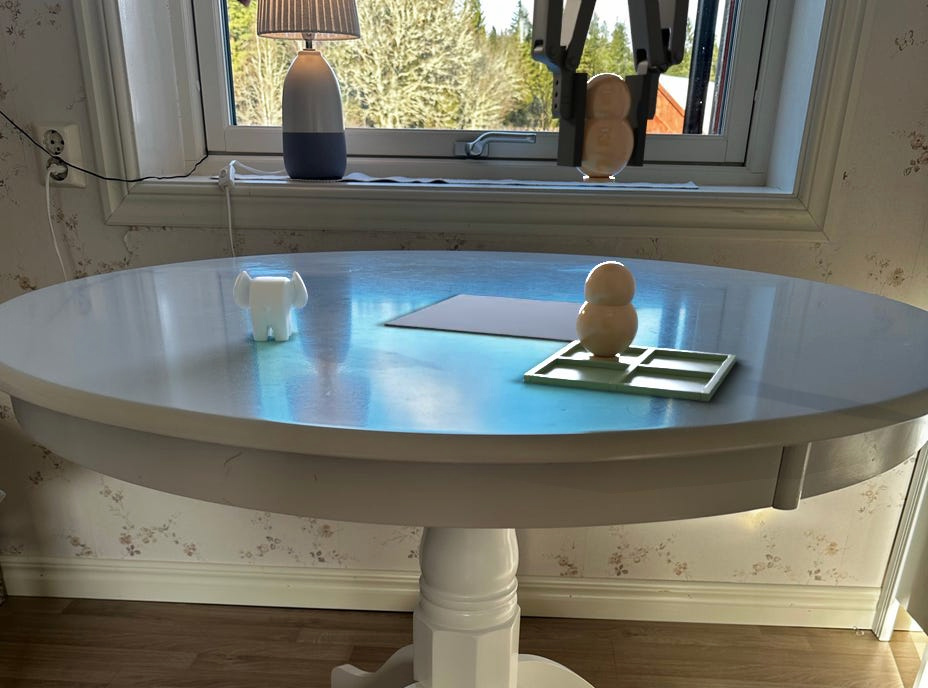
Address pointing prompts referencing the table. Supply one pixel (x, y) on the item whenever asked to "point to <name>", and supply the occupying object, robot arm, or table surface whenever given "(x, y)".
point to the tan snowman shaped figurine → (606, 128)
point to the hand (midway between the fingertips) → (600, 165)
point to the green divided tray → (637, 371)
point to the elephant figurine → (270, 303)
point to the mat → (498, 317)
